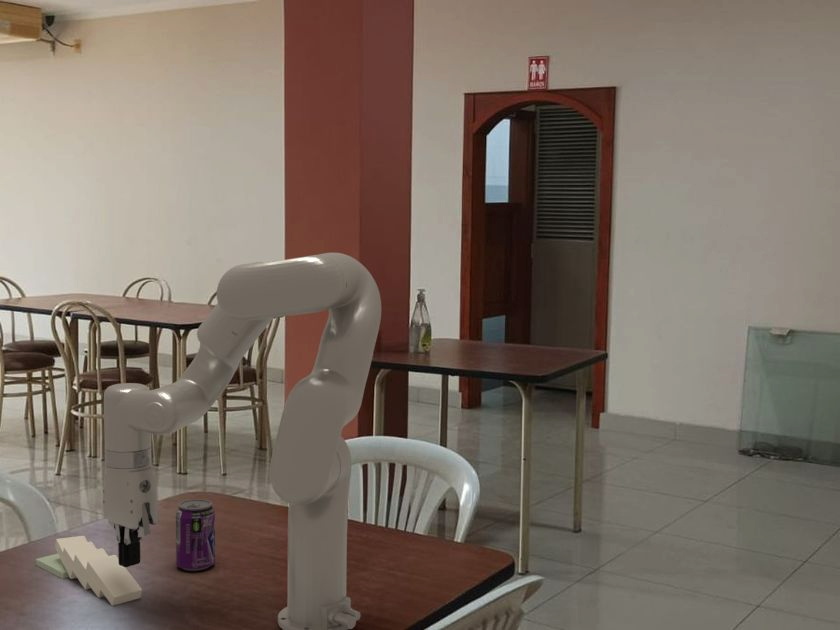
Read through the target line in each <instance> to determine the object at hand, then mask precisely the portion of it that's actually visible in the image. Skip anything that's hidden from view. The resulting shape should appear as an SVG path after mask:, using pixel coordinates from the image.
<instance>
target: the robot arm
mask: <svg viewBox="0 0 840 630" xmlns="http://www.w3.org/2000/svg"><path fill="white" fill-rule="evenodd" d="M216 299H217V302H216V304H215V306H213V309H211V311H210V312H209V313H208V314H207V316H206V317H205V319H203V321H202V322H201V323H200V325H199V326H198V328H197V330H196V336H197V340H198V342H199V348H198V351H197V352H196V355H195V356H194V358H193V360H192V361H191V363H189V365H188V367H187V368H186V369H185V371H183V373H181V375H180V376H179V378H178V379H177V380H176V381H175V382H171V383H169V384H166V385H163V386H162V387H158V388H155V389H151V390H150V388H149V387H148V386H147V385H145V384H142V383H136V382H133V383H132V382H129V383H128V382H122V383H116V384H112V385H109V386H108V387H106V389H105V391H104V393H103V426H104V427H103V429H104V432H103V433H104V435H103V436H104V474H103V487H102V509H103V511H102V512H103V516H104V518H105V519H106V520H108V524H109V525H110V526H112V527H113V529H114V530H115V538H116V541H117V542H118V544H117V545H118V546H117V547H118V548H117V550H118V556H117V557H118V559H119V565H121V566H123V567H125V568H129V567H132V566H136V565H139V564H140V563H141V542H142V541H143V538H145V537H149V536H150V535H151V526H154V525H157V524H158V523H159V501H158V490H157V481H156V476H155V471H154V468H153V467H152V435H158V436H166V435H171V434H173V433H175V432H177V431H180V430H181V429H183V428H185V427H187V426H189V425H191V424H193V423H196V422H198V421H199V420H200V419H201V418H203V416H204V415H206V413H207V412H208V411H209V410H210V409H211V408H212V406H213V405H214V404H215V402H216V401H217V400H218V399H219V398H220V396H221V395H222V393H224V391H225V390H226V388H227V387H228V385H229V384H230V382H231V381H232V380H233V379H232V378H233V377H234V375H235V373H236V372H237V369H238V368H239V365H240V362H241V360H242V359H243V357H244V356H245V355H246V354H247V353H248V351H249V350H250V349H251V348H252V346H253V345H254V343H255V342H256V340H258V338H259V337H260V336H261V334H262V333H263V331H265V329H266V328H267V327H268V325H269V324H270V323H271V322H272V321H273V319H274V318H282V317H289V316H297V315H305V314H313V313H319V312H323V311H327V310H328V318H327V321H326V323H325V327H324V329H323V332H322V334H321V337H320V340H319V341H320V342H319V346H318V351H317V355H316V359H315V361H314V365H313V368H312V370H311V371H310V372H311V373H310V374H308V375H306V377H304V378H302V379H300V380H299V381H298V382H296V383H295V385H294V386H293V387H292V389H291V391H290V392H289V394H288V396H287V398H286V400H285V403H284V407H283V410H282V413H281V418H280V420H279V421H280V423H279V426H278V429H277V434H276V438H275V442H274V446H273V450H272V453H271V454H272V455H271V458H270V463H269V480H270V485H271V487H272V489H273V491H274V493H275V494H276V496H277V497H279V499H281V500H282V501H283V502H285V503H287V504H288V513H287V514H288V515H287V606H286V607H284V608H282V609H281V610H280V611H279V613H278V615H277V624H278V627H279V628H281V629H282V630H352V629H354V627H355V626H356V624H357V621H359V620H360V618H361V612H360V611H358V610H356V609H353V608H352V607H351V606H352V605H351V604H352V603H351V602H352V600H351V597H349V596H347V564H348V563H347V559H348V555H347V553H348V552H347V545H348V511H349V510H348V508H349V493H350V485H351V478H352V476H351V475H352V454H351V450H350V448H349V445H348V444H347V441H346V440H345V439H344V437H343V436H342V433H343V429H344V427H345V426H346V425H348V424H349V423H350V422H351V421H352V420H354V419H355V418H356V416H357V415H358V413H359V411H360V410H361V409H360V408H361V406H362V402H363V398H364V393H365V388H366V384H367V380H368V376H369V373H370V368H371V365H372V360H373V354H374V351H375V347H376V342H377V338H378V334H379V331H380V325H381V318H382V298H381V294H380V290H379V287H378V285H377V283H376V280H375V279H374V277H373V276H372V273H371V272H370V271H369V270H368V269H367V268H366V266H364V264H362V263H361V262H360V261H359V260H357V259H355V258H354V257H352V256H351V255H348V254H344V253H342V252H341V253H340V252H325V253H320V254H314V255H313V254H312V255H307V256H301V257H300V256H299V257H294V258H288V259H281V260H274V261H267V262H262V261H261V262H260V261H259V262H250V263H245V264H238V265H235V266H233V267H231V268H229V269H228V270H226V272H225V273H224V274H223V275H222V276H221V278H220V279H219V282H218V284H217V288H216ZM150 525H151V526H150Z"/></svg>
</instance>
